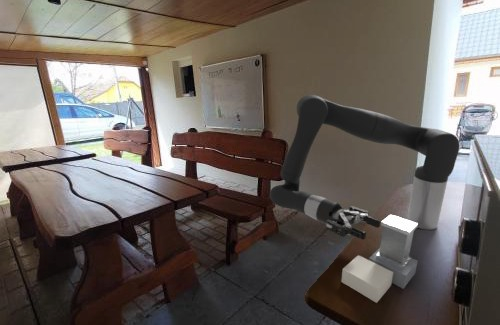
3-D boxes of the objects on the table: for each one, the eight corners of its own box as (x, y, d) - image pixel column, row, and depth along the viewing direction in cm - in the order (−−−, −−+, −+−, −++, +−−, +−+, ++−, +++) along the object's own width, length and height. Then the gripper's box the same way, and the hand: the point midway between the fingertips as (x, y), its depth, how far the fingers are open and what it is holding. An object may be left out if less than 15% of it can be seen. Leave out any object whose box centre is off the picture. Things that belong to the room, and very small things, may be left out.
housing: (385, 249, 73) (390, 214, 69) (410, 260, 68) (417, 223, 65) (376, 257, 69) (381, 221, 66) (402, 270, 65) (409, 232, 61)
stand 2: (380, 257, 76) (382, 245, 74) (415, 273, 69) (417, 260, 68) (367, 270, 71) (369, 257, 70) (403, 288, 64) (406, 275, 63)
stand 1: (356, 267, 72) (358, 255, 71) (391, 285, 65) (393, 272, 64) (341, 281, 67) (342, 268, 66) (376, 303, 60) (378, 289, 59)
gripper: (309, 206, 78) (361, 227, 66) (335, 192, 86) (386, 209, 75) (308, 228, 80) (358, 252, 68) (333, 212, 89) (382, 232, 77)
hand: (372, 230), depth 71 cm, fingers open, 8 cm apart
